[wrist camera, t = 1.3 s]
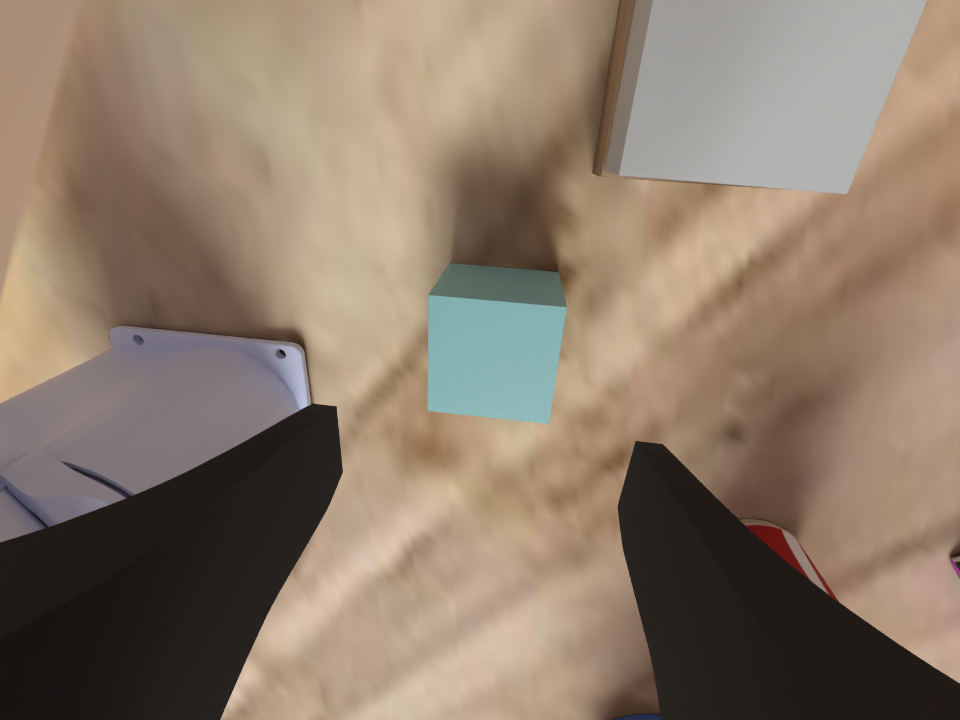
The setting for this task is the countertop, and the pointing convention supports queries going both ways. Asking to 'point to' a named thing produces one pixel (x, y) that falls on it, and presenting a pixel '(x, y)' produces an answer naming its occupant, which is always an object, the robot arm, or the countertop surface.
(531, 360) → the teal cube
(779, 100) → the grey tile
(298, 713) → the countertop surface
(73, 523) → the robot arm
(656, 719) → the water bottle
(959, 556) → the candy bar box
